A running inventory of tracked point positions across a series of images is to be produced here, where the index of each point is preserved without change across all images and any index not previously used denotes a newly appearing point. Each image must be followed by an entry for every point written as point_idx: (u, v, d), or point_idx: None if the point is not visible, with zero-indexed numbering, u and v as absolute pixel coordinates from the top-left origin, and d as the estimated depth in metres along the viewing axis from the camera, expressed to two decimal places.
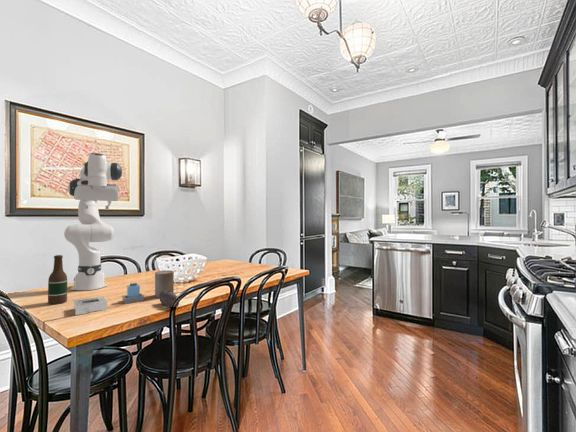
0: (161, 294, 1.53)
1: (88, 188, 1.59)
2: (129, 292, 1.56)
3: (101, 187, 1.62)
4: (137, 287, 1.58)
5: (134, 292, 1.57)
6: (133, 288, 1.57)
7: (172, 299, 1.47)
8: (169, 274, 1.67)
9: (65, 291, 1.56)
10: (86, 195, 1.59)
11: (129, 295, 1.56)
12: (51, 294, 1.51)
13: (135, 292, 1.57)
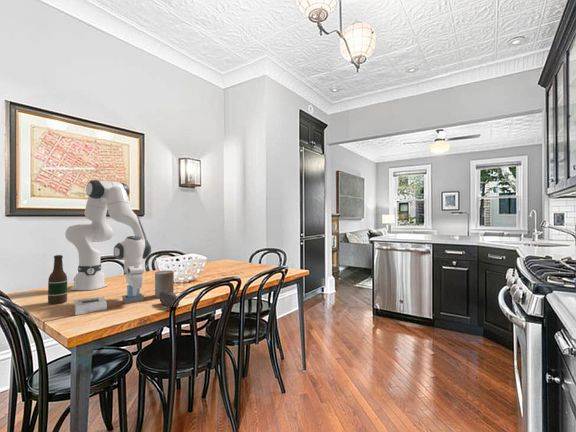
0: (161, 294, 1.53)
1: None
2: (129, 292, 1.56)
3: None
4: None
5: None
6: None
7: (172, 299, 1.47)
8: (169, 274, 1.67)
9: (65, 291, 1.56)
10: None
11: (129, 295, 1.56)
12: (51, 294, 1.51)
13: None
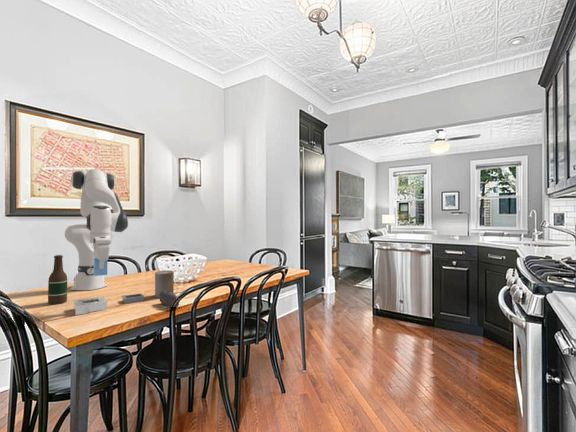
0: (161, 294, 1.53)
1: None
2: (95, 265, 1.44)
3: None
4: (105, 260, 1.47)
5: None
6: None
7: (172, 299, 1.47)
8: (169, 274, 1.67)
9: (65, 291, 1.56)
10: None
11: (95, 268, 1.44)
12: (51, 294, 1.51)
13: None
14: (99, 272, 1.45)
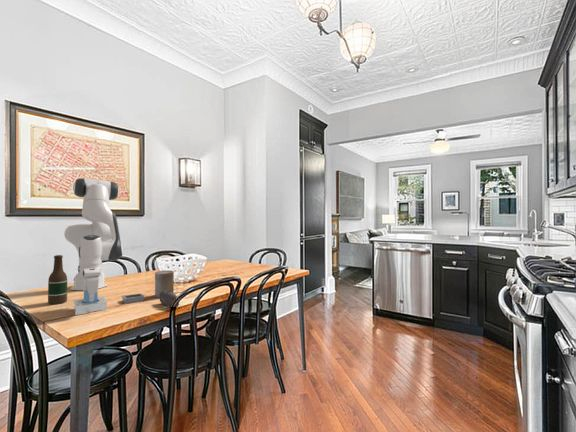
0: (161, 294, 1.53)
1: None
2: (85, 298, 1.42)
3: None
4: None
5: None
6: None
7: (172, 299, 1.47)
8: (169, 274, 1.67)
9: (65, 291, 1.56)
10: None
11: (85, 301, 1.42)
12: (51, 294, 1.51)
13: None
14: None
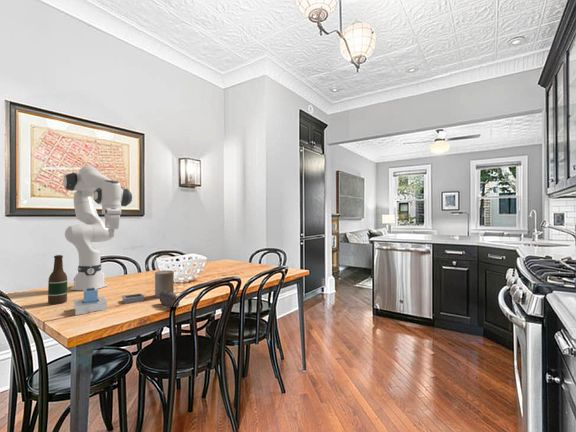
0: (161, 294, 1.53)
1: None
2: (85, 298, 1.42)
3: None
4: (94, 292, 1.44)
5: (91, 298, 1.43)
6: (90, 293, 1.43)
7: (172, 299, 1.47)
8: (169, 274, 1.67)
9: (65, 291, 1.56)
10: None
11: (85, 301, 1.42)
12: (51, 294, 1.51)
13: (92, 297, 1.43)
14: None
